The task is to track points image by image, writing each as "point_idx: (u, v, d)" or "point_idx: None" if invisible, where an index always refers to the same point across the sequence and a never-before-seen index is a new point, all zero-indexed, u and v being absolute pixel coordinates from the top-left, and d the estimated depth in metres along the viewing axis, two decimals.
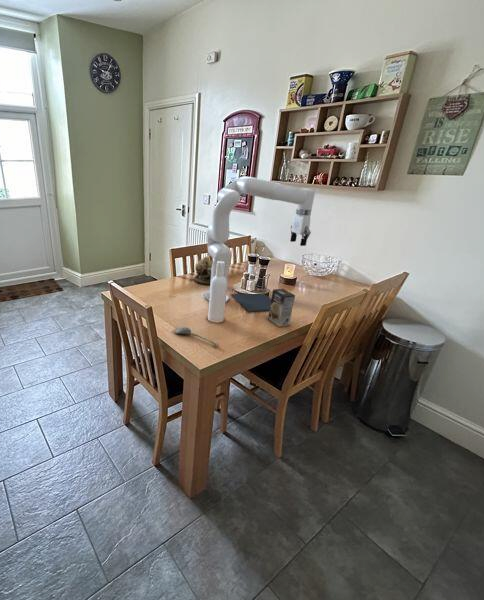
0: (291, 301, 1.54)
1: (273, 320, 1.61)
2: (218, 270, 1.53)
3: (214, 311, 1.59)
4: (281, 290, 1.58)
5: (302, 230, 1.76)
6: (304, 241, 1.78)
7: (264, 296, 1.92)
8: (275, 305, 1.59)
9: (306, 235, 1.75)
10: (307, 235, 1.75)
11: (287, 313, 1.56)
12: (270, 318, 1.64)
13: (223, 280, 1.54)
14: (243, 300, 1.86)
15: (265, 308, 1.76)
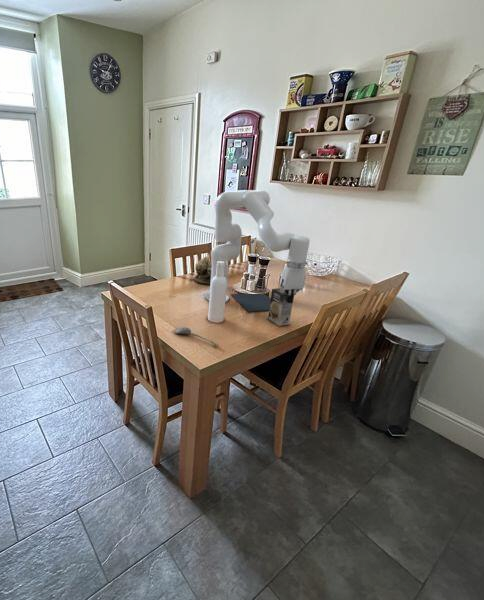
0: None
1: (273, 319, 1.61)
2: (218, 270, 1.53)
3: (214, 311, 1.59)
4: None
5: (280, 282, 1.50)
6: (286, 297, 1.52)
7: (264, 296, 1.92)
8: (274, 304, 1.59)
9: None
10: None
11: (287, 311, 1.57)
12: (270, 318, 1.64)
13: (223, 280, 1.54)
14: (243, 300, 1.86)
15: (265, 308, 1.76)
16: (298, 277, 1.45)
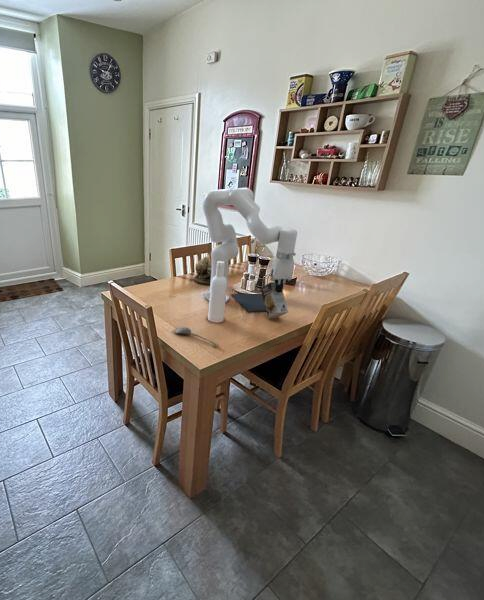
0: None
1: (272, 312, 1.62)
2: (218, 270, 1.53)
3: (214, 311, 1.59)
4: None
5: (270, 272, 1.58)
6: (276, 287, 1.60)
7: None
8: (267, 298, 1.65)
9: None
10: None
11: (280, 299, 1.61)
12: (269, 315, 1.65)
13: (223, 280, 1.54)
14: (243, 300, 1.86)
15: (265, 308, 1.76)
16: (287, 267, 1.54)
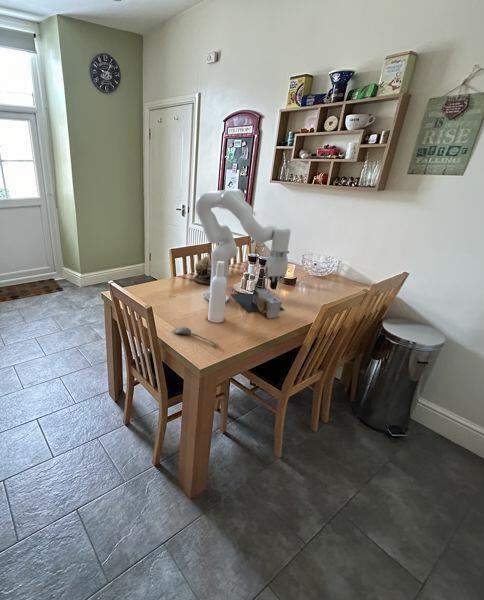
0: (265, 291, 1.74)
1: (268, 309, 1.65)
2: (218, 270, 1.53)
3: (214, 311, 1.59)
4: None
5: (264, 269, 1.63)
6: (270, 284, 1.65)
7: None
8: (258, 303, 1.72)
9: None
10: None
11: (269, 296, 1.69)
12: (267, 314, 1.66)
13: (223, 280, 1.54)
14: (243, 300, 1.86)
15: None
16: (281, 265, 1.59)
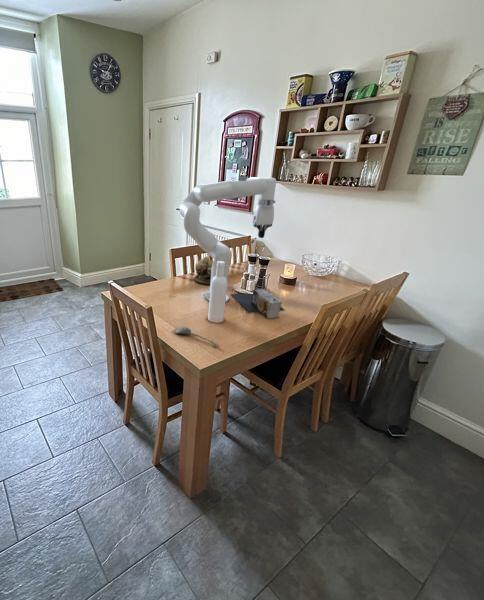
0: (264, 291, 1.74)
1: (267, 309, 1.65)
2: (218, 270, 1.53)
3: (214, 311, 1.59)
4: None
5: (253, 219, 1.76)
6: (258, 232, 1.78)
7: None
8: (258, 303, 1.72)
9: None
10: None
11: (269, 296, 1.69)
12: (267, 314, 1.66)
13: (223, 280, 1.54)
14: (243, 300, 1.86)
15: None
16: (267, 213, 1.72)
